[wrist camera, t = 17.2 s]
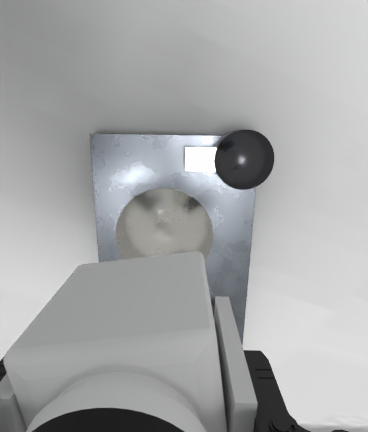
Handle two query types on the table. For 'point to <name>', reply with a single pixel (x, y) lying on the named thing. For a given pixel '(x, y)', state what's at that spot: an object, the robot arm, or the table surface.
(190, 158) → the knob
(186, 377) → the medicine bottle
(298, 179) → the table surface
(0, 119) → the table surface
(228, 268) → the dark grey base plate
